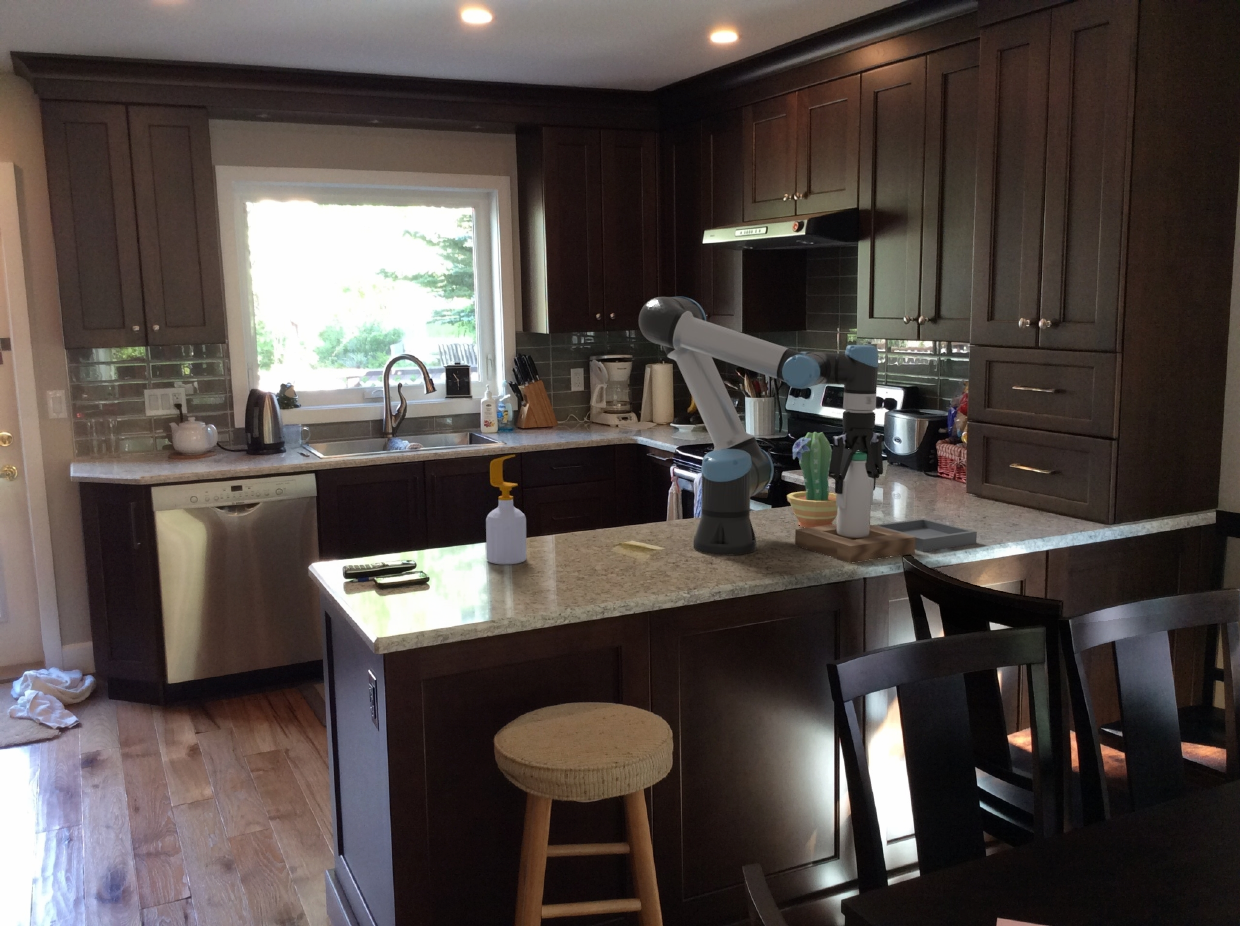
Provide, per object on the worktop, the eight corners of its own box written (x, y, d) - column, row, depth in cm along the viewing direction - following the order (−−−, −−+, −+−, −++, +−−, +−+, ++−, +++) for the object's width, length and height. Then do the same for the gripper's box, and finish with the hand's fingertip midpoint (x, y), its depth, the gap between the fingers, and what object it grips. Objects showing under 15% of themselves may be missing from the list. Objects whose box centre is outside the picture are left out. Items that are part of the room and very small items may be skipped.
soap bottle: (510, 567, 236) (508, 458, 232) (478, 561, 241) (476, 455, 237) (534, 558, 244) (533, 453, 240) (503, 553, 248) (501, 450, 245)
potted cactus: (786, 518, 289) (789, 428, 286) (844, 521, 287) (847, 429, 283) (785, 530, 274) (787, 435, 271) (845, 533, 272) (849, 437, 268)
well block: (849, 563, 241) (850, 546, 240) (795, 545, 258) (795, 529, 257) (914, 553, 250) (915, 536, 250) (857, 536, 268) (858, 521, 267)
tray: (922, 551, 252) (923, 539, 252) (870, 536, 268) (871, 525, 267) (976, 543, 261) (976, 531, 260) (922, 529, 276) (923, 518, 276)
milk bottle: (869, 539, 249) (874, 455, 246) (836, 537, 251) (840, 454, 248) (868, 532, 257) (873, 451, 254) (836, 530, 258) (840, 449, 255)
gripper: (836, 414, 241) (831, 512, 244) (903, 410, 251) (897, 504, 254) (814, 410, 247) (810, 506, 251) (881, 407, 257) (875, 499, 261)
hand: (854, 505), depth 253 cm, fingers closed on milk bottle, 8 cm apart
